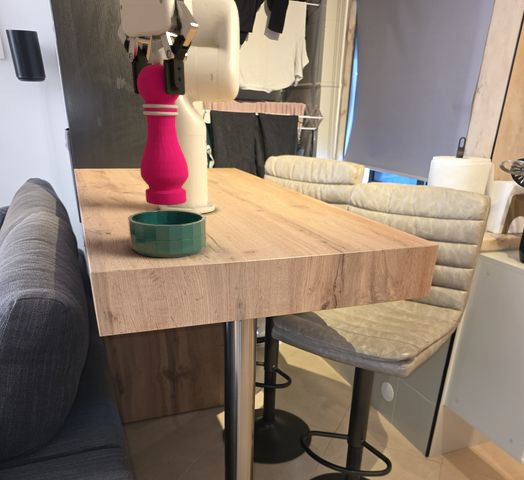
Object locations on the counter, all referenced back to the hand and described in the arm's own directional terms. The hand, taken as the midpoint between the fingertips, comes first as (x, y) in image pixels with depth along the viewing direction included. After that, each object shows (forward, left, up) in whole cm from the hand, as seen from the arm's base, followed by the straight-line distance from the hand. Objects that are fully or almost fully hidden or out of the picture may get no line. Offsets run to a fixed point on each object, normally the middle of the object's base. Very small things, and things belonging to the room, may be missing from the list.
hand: (159, 93), depth 65 cm
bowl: (0, 0, -22) cm, 22 cm away
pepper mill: (0, 0, -15) cm, 15 cm away
